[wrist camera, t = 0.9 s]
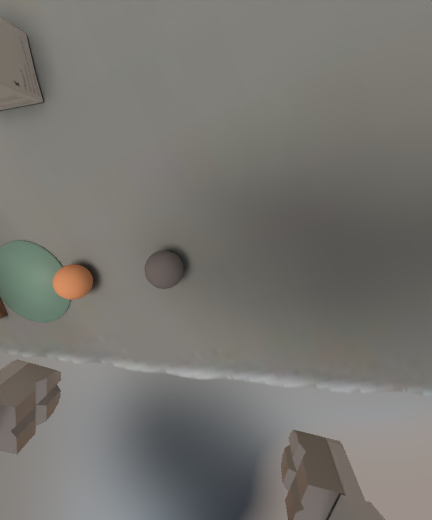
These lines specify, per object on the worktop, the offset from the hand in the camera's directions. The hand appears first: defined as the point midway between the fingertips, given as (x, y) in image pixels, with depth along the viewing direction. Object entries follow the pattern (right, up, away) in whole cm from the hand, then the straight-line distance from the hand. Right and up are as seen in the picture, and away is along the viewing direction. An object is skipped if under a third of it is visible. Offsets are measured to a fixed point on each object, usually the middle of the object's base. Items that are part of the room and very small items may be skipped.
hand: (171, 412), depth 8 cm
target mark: (-28, +1, +31) cm, 42 cm away
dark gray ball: (-5, +4, +24) cm, 25 cm away
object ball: (-19, +2, +27) cm, 33 cm away
